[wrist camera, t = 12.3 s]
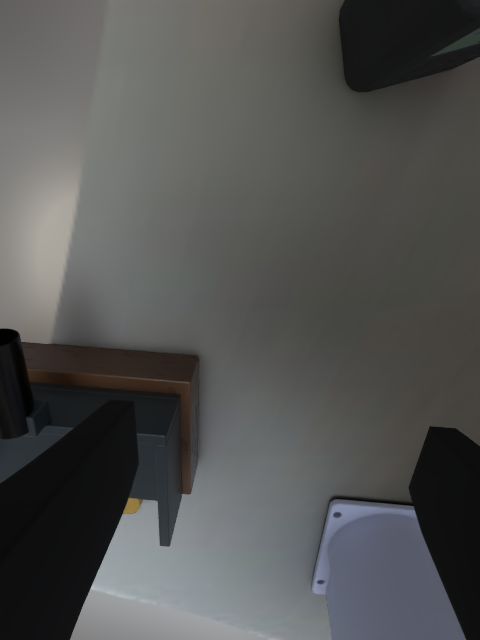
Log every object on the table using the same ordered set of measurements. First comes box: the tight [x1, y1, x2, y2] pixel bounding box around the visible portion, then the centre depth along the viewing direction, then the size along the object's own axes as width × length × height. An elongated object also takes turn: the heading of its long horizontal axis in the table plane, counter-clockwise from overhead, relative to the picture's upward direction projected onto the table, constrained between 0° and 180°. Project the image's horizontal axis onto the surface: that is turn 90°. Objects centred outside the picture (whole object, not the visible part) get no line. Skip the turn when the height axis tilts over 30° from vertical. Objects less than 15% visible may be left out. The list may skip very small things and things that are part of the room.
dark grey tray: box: [0, 329, 182, 547], centre depth 17 cm, size 11×12×4 cm
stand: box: [21, 342, 199, 494], centre depth 20 cm, size 8×13×2 cm, turn 87°
